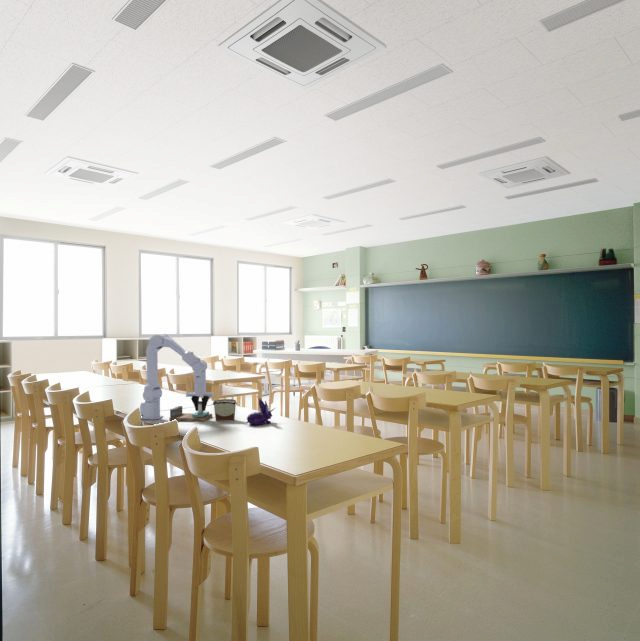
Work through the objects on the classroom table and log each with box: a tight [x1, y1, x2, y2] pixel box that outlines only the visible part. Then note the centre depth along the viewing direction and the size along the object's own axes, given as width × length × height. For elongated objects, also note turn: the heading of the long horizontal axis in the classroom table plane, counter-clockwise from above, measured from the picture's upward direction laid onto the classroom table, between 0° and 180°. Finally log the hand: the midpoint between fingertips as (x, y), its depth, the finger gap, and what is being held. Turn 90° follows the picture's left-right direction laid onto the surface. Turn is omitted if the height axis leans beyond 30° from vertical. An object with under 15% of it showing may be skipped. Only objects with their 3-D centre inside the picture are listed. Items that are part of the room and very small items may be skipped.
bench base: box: [168, 405, 213, 423], centre depth 250 cm, size 18×12×6 cm, turn 81°
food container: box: [212, 398, 238, 422], centre depth 247 cm, size 12×6×10 cm, turn 84°
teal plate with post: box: [192, 400, 210, 417], centre depth 249 cm, size 6×8×7 cm
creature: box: [245, 397, 276, 426], centre depth 236 cm, size 9×18×12 cm, turn 127°
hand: (200, 410), depth 249 cm, fingers closed on teal plate with post, 3 cm apart
